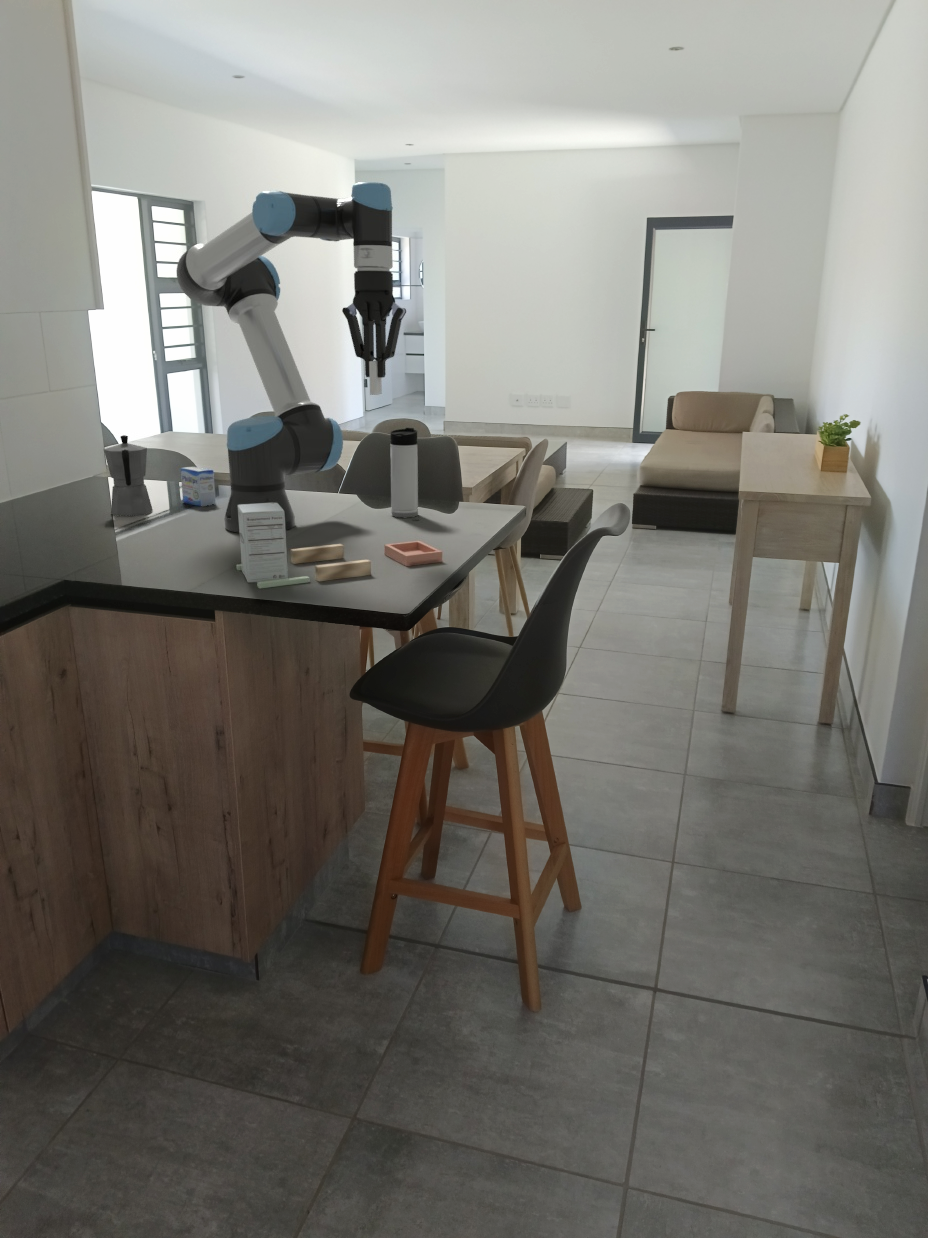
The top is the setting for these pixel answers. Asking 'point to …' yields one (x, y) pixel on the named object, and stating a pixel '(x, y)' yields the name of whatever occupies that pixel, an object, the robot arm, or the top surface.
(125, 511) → the coffeepot
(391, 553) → the pit tray
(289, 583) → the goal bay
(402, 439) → the travel mug
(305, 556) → the channel
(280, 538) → the supplement box
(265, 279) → the robot arm
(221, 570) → the top surface
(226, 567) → the top surface
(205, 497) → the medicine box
